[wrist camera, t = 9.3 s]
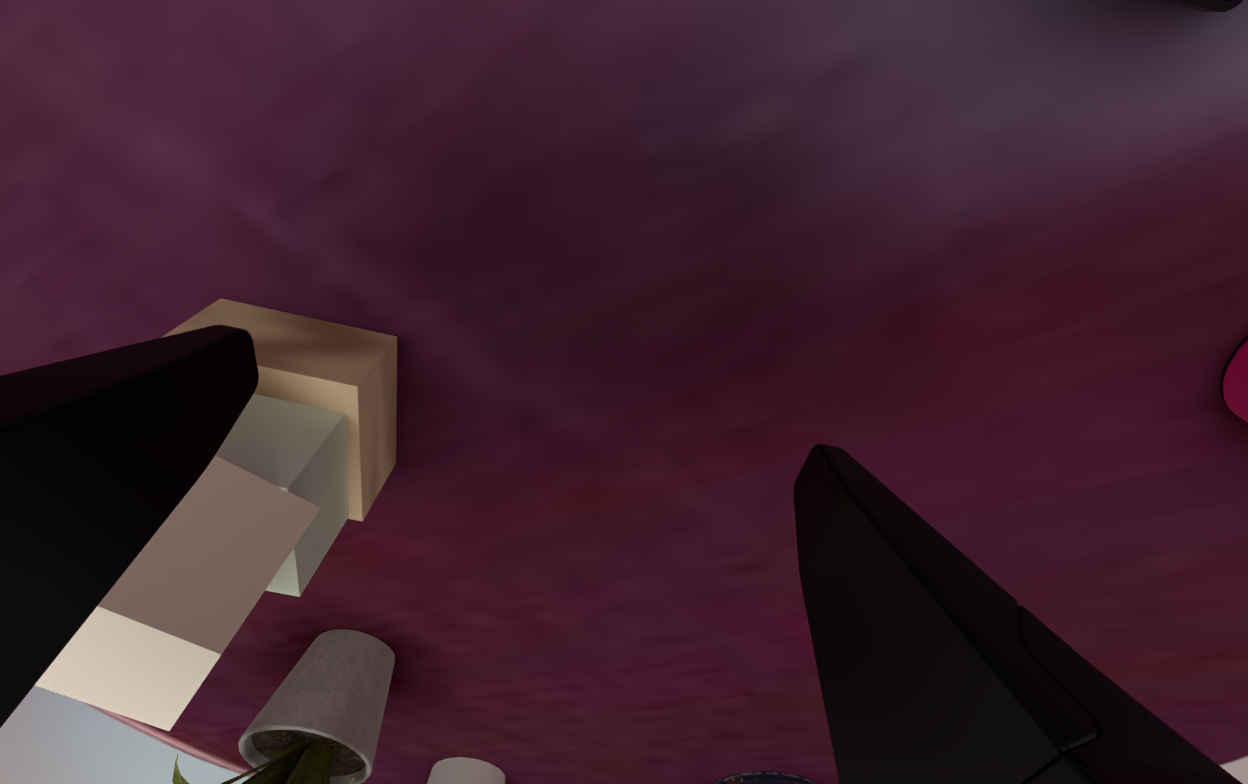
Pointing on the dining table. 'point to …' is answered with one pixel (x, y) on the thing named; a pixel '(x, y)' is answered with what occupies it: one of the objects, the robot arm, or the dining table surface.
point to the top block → (296, 473)
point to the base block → (325, 381)
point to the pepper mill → (1237, 383)
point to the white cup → (465, 772)
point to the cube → (182, 597)
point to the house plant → (321, 715)
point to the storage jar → (765, 778)
